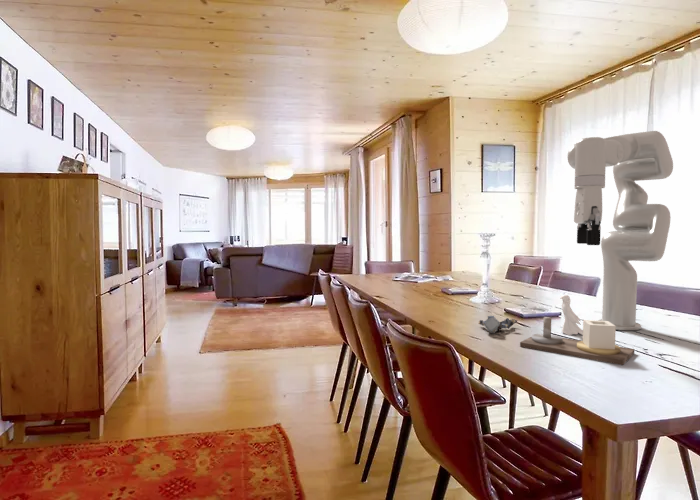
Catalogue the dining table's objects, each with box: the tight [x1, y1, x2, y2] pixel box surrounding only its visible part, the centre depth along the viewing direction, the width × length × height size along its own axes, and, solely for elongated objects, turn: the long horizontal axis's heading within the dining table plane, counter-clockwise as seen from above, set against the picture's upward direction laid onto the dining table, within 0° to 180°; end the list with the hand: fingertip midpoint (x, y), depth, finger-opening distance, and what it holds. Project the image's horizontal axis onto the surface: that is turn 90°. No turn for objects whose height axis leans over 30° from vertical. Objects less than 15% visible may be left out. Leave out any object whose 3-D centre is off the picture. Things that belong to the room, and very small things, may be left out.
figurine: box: [560, 294, 583, 336], centre depth 140 cm, size 8×8×12 cm
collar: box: [582, 319, 617, 349], centre depth 118 cm, size 6×6×6 cm
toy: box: [478, 315, 518, 334], centre depth 145 cm, size 7×11×15 cm
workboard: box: [519, 316, 635, 366], centre depth 122 cm, size 13×25×8 cm, turn 47°
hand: (587, 244), depth 127 cm, fingers open, 9 cm apart
